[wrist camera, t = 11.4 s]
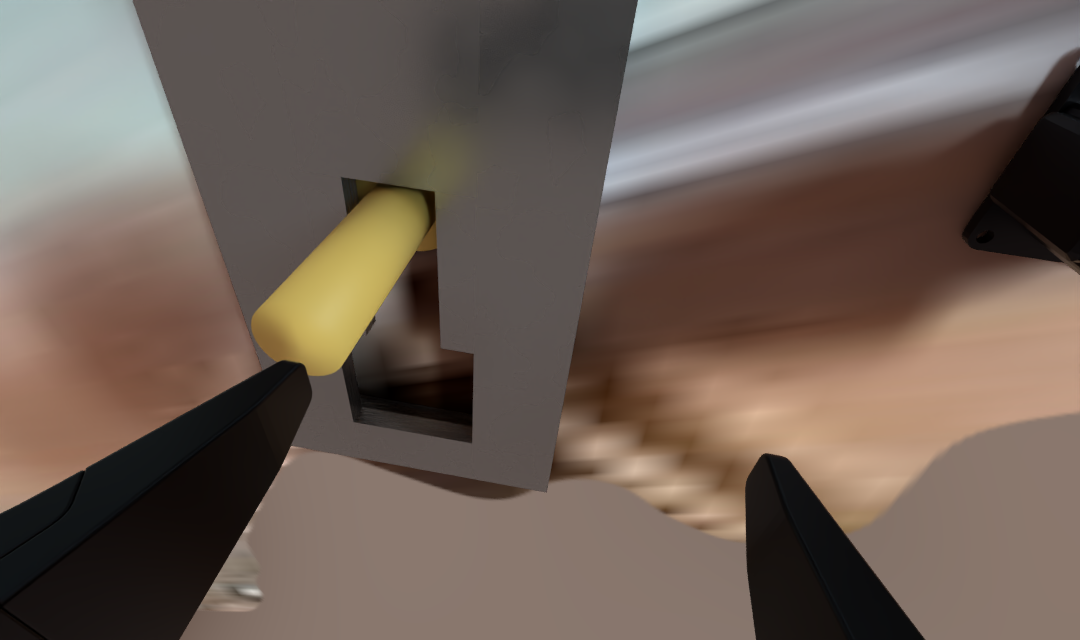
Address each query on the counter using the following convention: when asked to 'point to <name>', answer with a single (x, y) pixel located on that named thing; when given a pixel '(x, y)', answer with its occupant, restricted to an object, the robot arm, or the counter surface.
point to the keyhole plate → (412, 185)
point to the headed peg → (346, 278)
